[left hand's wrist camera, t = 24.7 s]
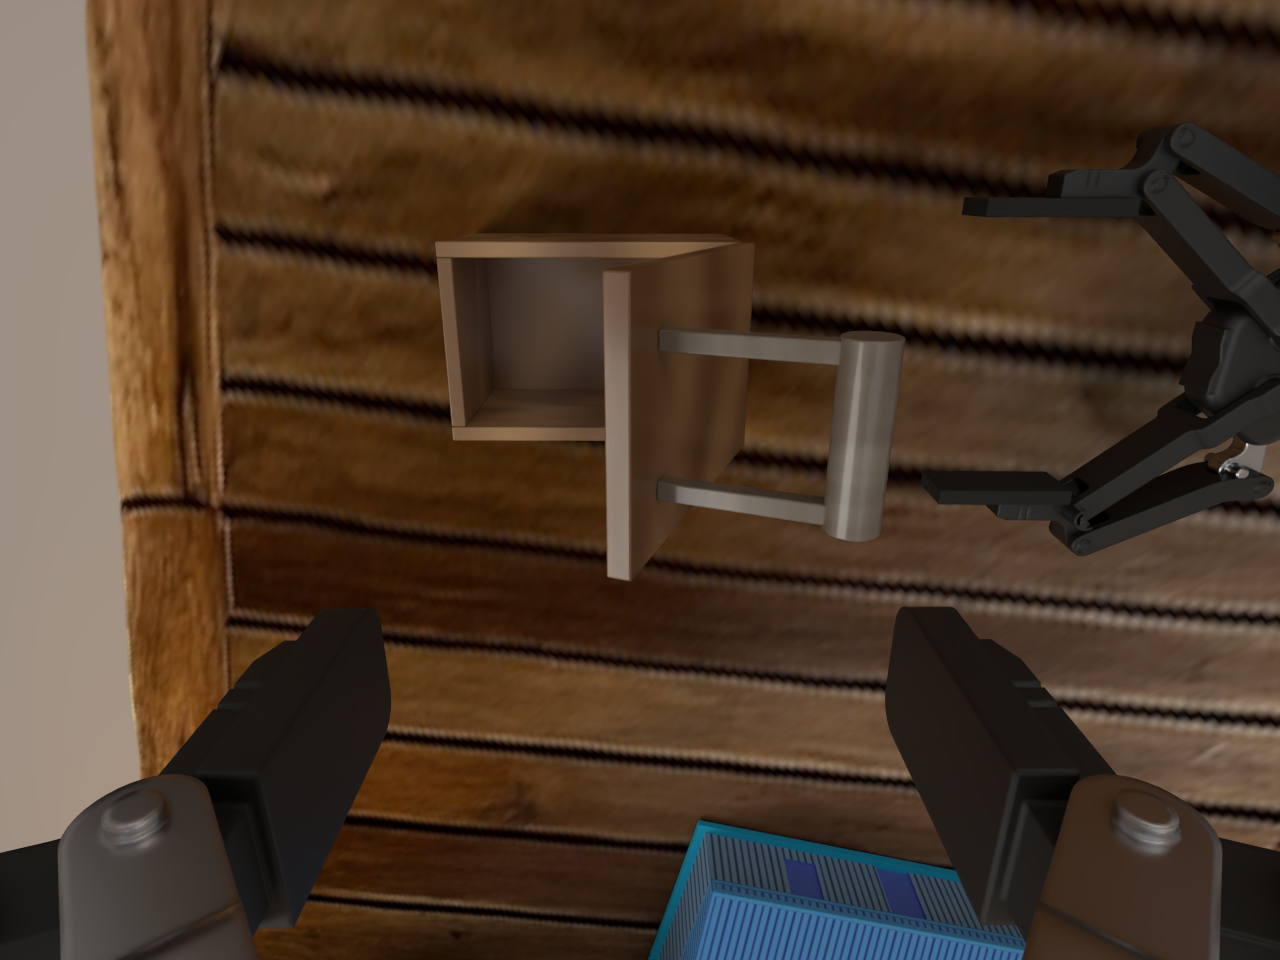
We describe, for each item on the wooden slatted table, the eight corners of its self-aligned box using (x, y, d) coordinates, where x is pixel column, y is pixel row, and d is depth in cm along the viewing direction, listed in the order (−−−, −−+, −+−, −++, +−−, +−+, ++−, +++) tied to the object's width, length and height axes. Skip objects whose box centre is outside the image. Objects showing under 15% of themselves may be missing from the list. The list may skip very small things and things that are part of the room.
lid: (606, 578, 24) (865, 627, 21) (601, 269, 20) (909, 280, 18) (727, 443, 37) (896, 463, 34) (736, 242, 33) (925, 246, 31)
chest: (486, 397, 45) (452, 440, 37) (474, 233, 42) (434, 241, 34) (718, 398, 45) (734, 441, 37) (724, 233, 42) (744, 242, 34)
